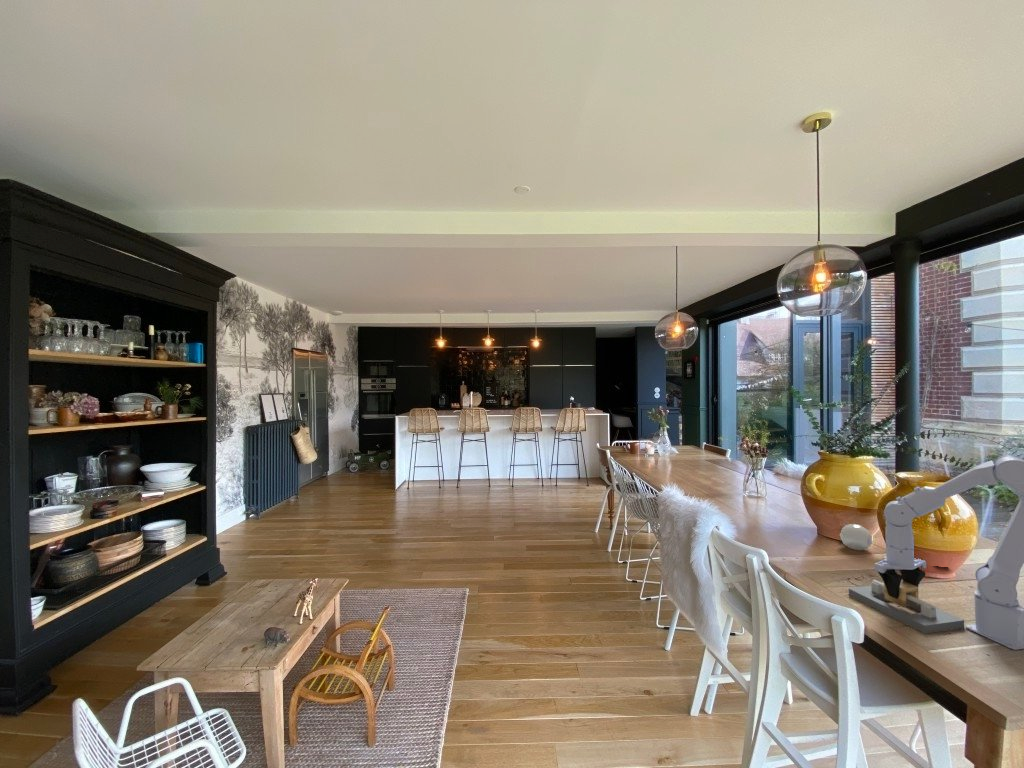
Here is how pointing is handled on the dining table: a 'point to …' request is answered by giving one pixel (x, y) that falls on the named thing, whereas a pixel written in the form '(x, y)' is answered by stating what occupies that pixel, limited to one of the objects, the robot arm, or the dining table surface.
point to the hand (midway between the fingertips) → (901, 595)
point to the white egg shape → (856, 537)
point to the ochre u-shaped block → (903, 594)
